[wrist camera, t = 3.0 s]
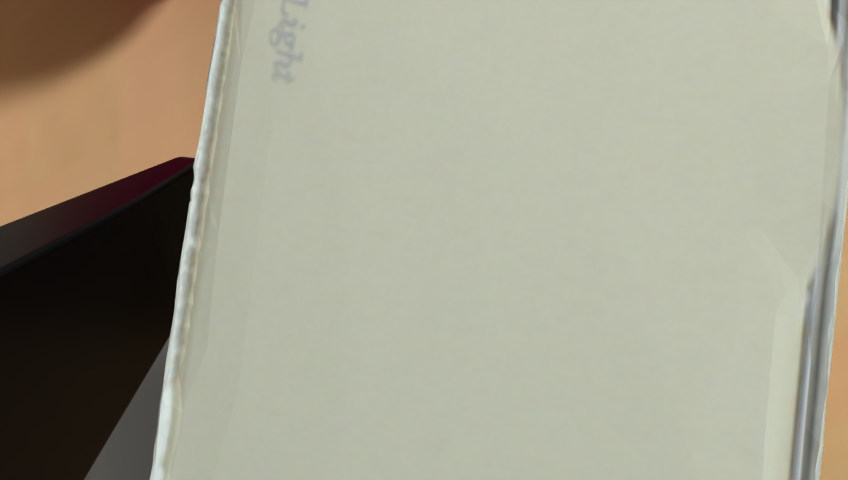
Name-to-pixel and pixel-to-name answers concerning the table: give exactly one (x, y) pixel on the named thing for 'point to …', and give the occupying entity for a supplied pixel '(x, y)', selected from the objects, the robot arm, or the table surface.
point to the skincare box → (511, 242)
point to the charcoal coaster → (134, 432)
